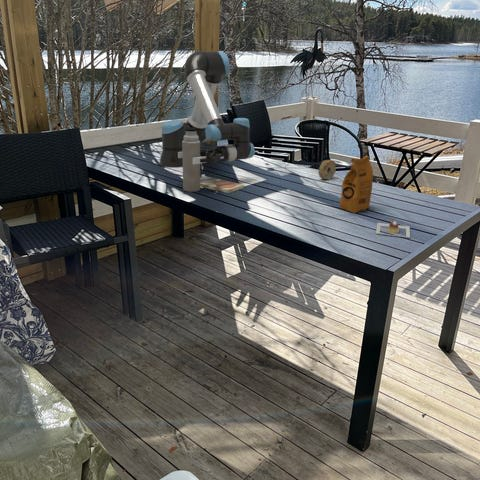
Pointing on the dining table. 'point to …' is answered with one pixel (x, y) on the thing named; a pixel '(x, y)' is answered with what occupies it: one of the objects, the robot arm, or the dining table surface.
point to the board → (219, 184)
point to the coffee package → (357, 186)
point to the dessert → (393, 229)
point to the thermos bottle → (191, 160)
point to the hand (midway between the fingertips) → (185, 158)
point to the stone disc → (327, 169)
